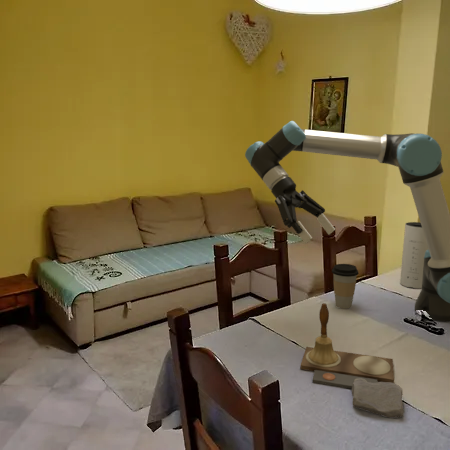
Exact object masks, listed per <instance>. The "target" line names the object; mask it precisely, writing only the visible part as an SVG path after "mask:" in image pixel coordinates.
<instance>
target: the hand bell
mask: <svg viewBox="0 0 450 450" xmlns="http://www.w3.org/2000/svg"><path fill="white" fill-rule="evenodd" d="M318 315H319V316H318V317H319V322H320V336H318V337H316V338H315V342H314V346H313V347H312V348H313V350H311V351H310V353H309V355H308V357H309V359H310V360H311V361H313V362H315V363H318V364H323V365H329V364H333V363H336V362H337V361H338V355H337V354H336V353H335V352H334V351H335V350H334V347H333V340H332V339H331V338H330V337H329V336H328V329H327V327H328V326H327V325H328V323H329V318H330V311H329V307H328V304H327V303H321V307H320V309H319V314H318Z"/></svg>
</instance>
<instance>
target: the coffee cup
mask: <svg viewBox="0 0 450 450" xmlns="http://www.w3.org/2000/svg"><path fill="white" fill-rule="evenodd" d="M331 274H333V279H332V280H333V293H334V294H333V295H334V304H335V307H336V308H338V309H343V310H347V309H348V310H349V309H350V308H352V307H353V301H354V295H355V290H356V284H357V276H358V275H359V269H357V266H356V265H354V264H350V263H338V264H335V265H333V267H332V269H331Z"/></svg>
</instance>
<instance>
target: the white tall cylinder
mask: <svg viewBox="0 0 450 450" xmlns="http://www.w3.org/2000/svg"><path fill="white" fill-rule="evenodd" d="M402 248H403V249H402V257H401V266H400V267H401V268H400V279H399V284H400V285H401V286H403V287H405V288H409V289H413V290H414V289H415V290H416V289H417V290H421V289H422V278H423V266H424V256H425V252H426V250H428V245H427V242H426V239H425V235H424V232H423V229H422V225H421V222H420V221H418V222H417V221H410V222H409V221H408V222H405V224H404V235H403V244H402Z"/></svg>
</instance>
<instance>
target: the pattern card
mask: <svg viewBox="0 0 450 450" xmlns="http://www.w3.org/2000/svg"><path fill="white" fill-rule="evenodd" d="M358 379H362V380H364V381H366V382H371V383H378V381H377V379H370V378H364V377H358V376H351V375H345V374H339V373H332V372H326V371H319V370H315V371H313V376H312V379H311V382H312V383H315V384H321V385H326V386H332V387H337V388H344V389H348V390H349V389H350V390H352V384H353V383H354V381H356V380H358Z"/></svg>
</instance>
